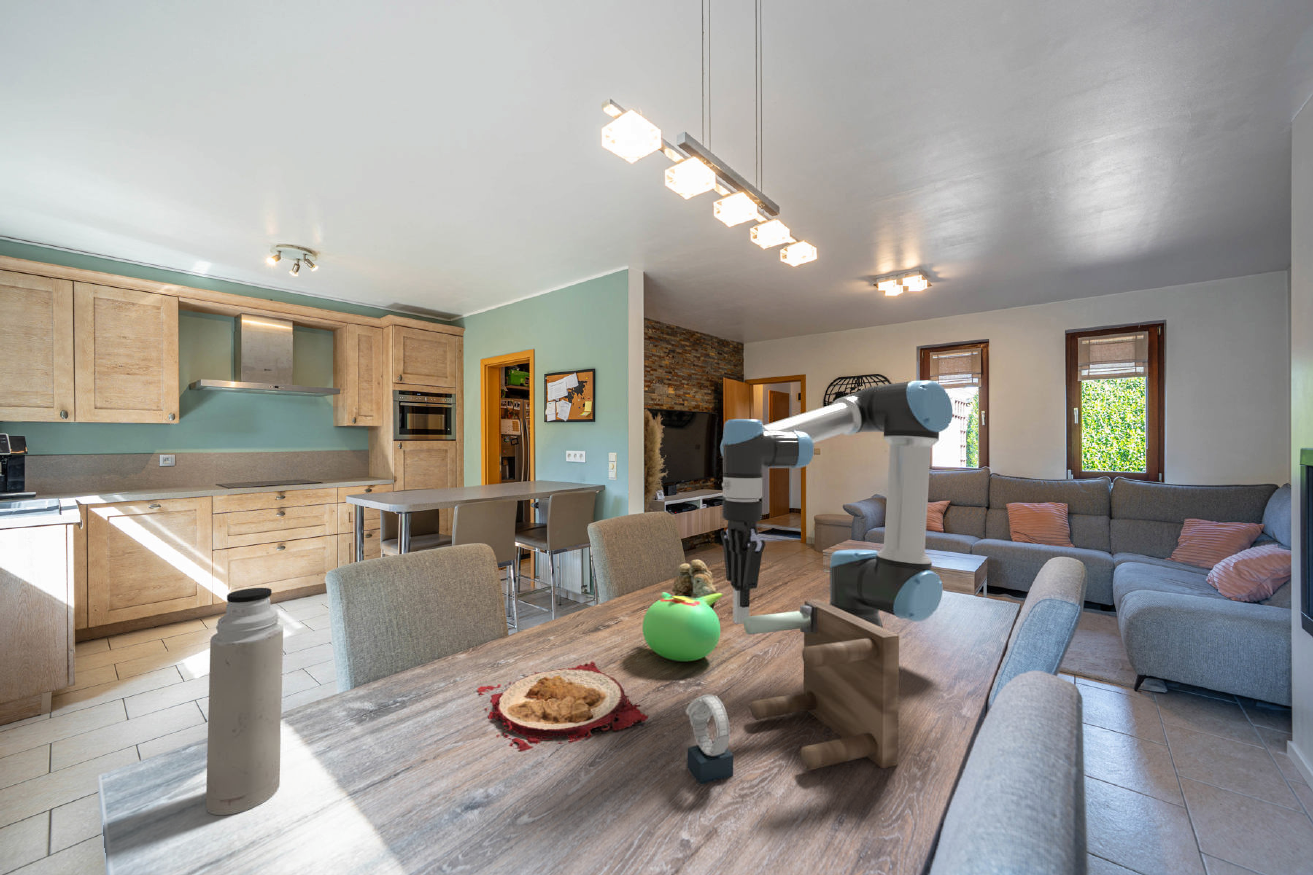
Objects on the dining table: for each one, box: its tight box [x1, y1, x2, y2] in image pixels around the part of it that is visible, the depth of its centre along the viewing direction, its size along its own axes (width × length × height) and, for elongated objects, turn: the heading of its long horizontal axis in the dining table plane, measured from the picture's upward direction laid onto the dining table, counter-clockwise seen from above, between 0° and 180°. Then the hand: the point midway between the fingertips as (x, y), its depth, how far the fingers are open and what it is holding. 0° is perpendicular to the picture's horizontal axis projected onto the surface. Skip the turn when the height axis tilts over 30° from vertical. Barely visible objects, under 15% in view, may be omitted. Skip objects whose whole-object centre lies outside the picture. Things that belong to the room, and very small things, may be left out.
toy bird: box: [642, 591, 723, 662], centre depth 123 cm, size 18×17×15 cm
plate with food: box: [477, 661, 649, 753], centre depth 99 cm, size 25×26×4 cm
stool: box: [749, 599, 900, 771], centre depth 89 cm, size 15×20×20 cm
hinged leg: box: [743, 605, 812, 636], centre depth 96 cm, size 13×3×4 cm, turn 110°
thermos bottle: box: [205, 587, 284, 816], centre depth 73 cm, size 8×8×28 cm
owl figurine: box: [671, 559, 721, 623], centre depth 148 cm, size 18×12×17 cm, turn 34°
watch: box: [685, 694, 734, 786], centre depth 80 cm, size 6×8×11 cm
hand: (740, 622), depth 102 cm, fingers closed
